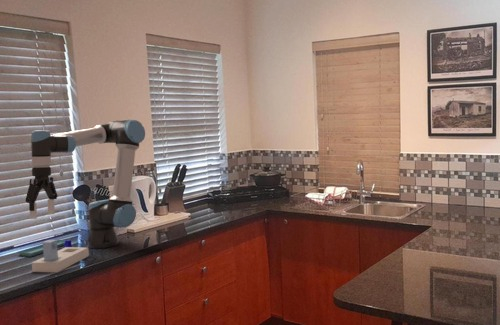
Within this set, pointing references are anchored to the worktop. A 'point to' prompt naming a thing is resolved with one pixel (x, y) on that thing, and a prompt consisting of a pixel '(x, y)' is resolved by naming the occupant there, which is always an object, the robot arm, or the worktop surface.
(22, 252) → the rectangular tray
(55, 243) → the plug
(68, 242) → the blue angular bent piece
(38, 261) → the socket strip
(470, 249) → the worktop surface
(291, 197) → the worktop surface
